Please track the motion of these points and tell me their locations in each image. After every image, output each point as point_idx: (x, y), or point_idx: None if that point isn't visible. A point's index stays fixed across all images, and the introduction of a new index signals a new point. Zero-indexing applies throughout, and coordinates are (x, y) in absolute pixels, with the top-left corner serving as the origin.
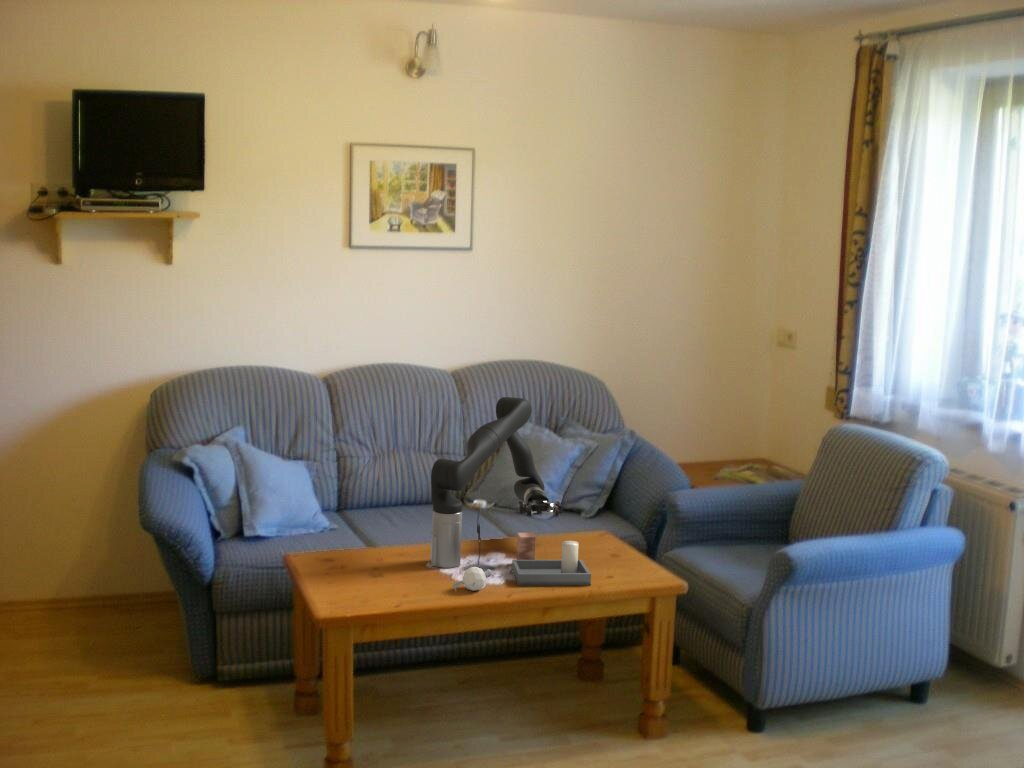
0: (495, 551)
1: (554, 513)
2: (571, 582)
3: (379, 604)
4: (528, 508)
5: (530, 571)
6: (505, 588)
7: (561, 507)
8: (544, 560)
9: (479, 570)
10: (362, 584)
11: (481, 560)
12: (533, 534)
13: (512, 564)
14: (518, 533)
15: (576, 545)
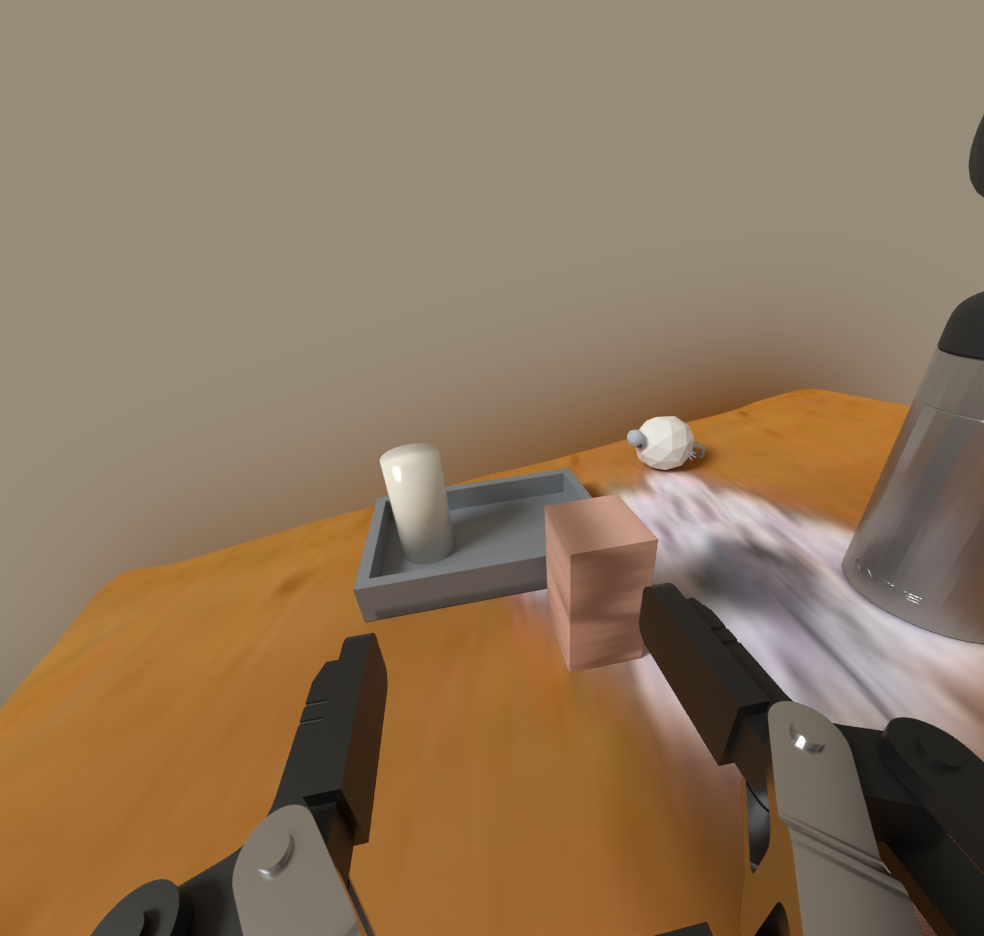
0: None
1: (374, 727)
2: None
3: (776, 411)
4: (725, 648)
5: None
6: (594, 480)
7: (161, 887)
8: (505, 556)
9: (651, 419)
10: None
11: (825, 663)
12: (563, 532)
13: None
14: (647, 530)
15: (394, 450)
